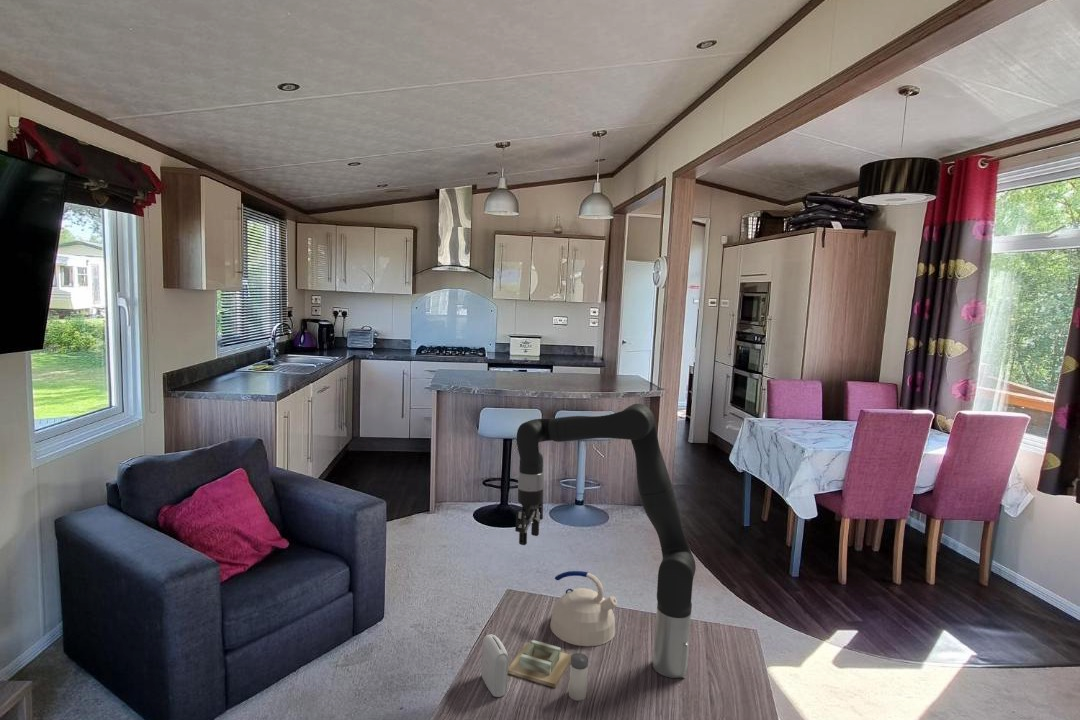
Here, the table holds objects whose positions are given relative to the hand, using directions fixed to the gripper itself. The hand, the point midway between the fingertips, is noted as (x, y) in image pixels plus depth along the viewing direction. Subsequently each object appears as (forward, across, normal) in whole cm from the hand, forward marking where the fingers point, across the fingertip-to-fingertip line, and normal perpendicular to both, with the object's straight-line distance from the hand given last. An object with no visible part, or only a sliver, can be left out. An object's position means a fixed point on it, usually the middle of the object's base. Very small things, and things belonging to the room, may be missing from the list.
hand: (529, 539), depth 175 cm
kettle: (+29, +11, -14) cm, 34 cm away
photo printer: (+30, -26, -3) cm, 40 cm away
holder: (+29, -13, -10) cm, 34 cm away
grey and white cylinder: (+30, -19, -24) cm, 43 cm away
